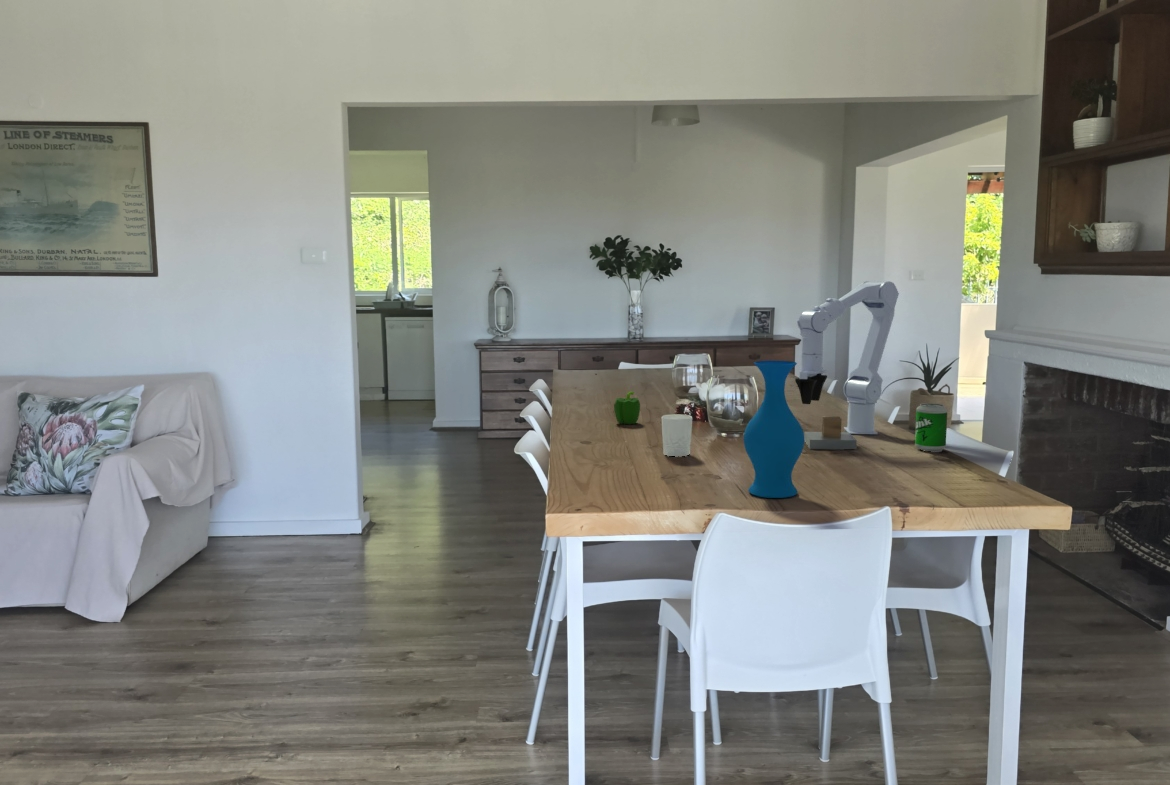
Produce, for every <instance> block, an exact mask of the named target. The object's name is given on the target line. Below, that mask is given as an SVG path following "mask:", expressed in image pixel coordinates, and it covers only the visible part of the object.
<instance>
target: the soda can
mask: <svg viewBox="0 0 1170 785" xmlns="http://www.w3.org/2000/svg"><path fill="white" fill-rule="evenodd" d="M915 409H916V411H915V413H916V414H915V436H914V438H915V439H914V440H915V441H914V446H915V447H916V448H917V449H921V450H925V451H931V452H930V453H941V452H943V450H944V449H945V448H947V424H948V409H947V408H946V407H945V405H944V404H943V403H941V404H940V403H933V402H932V403H931V402H930V403H929V402H927V403H926V402H925V403H923V402H922V403H920V404H919V405H918V406H917V407H916V408H915Z"/></svg>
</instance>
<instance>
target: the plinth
mask: <svg viewBox="0 0 1170 785" xmlns="http://www.w3.org/2000/svg"><path fill="white" fill-rule="evenodd" d="M803 432H804V439H805V440H804V443H805V442H806V443H805V444H806V446H807V445H808V446H807V447H808V449H809V450H844V449H856V450H857V442H858V441H857V439H856V438H855V437H854V436H853V434H850V433H849V432H847V431H845V432H843V431H841V438H835V437H823V435H822V431H803Z"/></svg>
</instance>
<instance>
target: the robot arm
mask: <svg viewBox="0 0 1170 785" xmlns="http://www.w3.org/2000/svg"><path fill="white" fill-rule="evenodd" d="M899 295H900V293H899V291H898V288H897V286H896V284H895V283H894V282H892V281H867V280H866V281H863V282H862V283H859V284H857V285H856V287H855V288H854V289H852V290H850V291H849V292H848V293H846V294H844V295H843V296H842V297H841V296H840V298H839V299H838V298H835V297H834V298H832V297H828V298H826V299H825V302H824V303H822V304H820V305H815V306H814V307H813V309H812V310H804V311H803V312H802V313H801V314H800V316H799V318H798V320H797V326H798V328H799V330H800V333H799V334H800V337H801V355H800V358H801V359H800V360H801V361H800V362H801V363H800V365H801V366H800V367H801V368H800V369H799V377H796V378H795V379H794V381H795V383H796V385H797V388H798V390H799V395H800V398H801V402H802V404H803V405H811V404H812V401H817V402H818V401H819V402H820V399H821V394H822V392H823V391H822V390H823V387H824V384H825V382H826V380H827V378H828V375H827V374H826V373H827V369H824V367H823V353H824V352H823V350H824V348H823V347H824V332H825V331H826V330H827V329H828V326H829V324H831V323H833V322H835V321H837V320H838V319H839V318H841V317H843V316H844V314H845V311H846V310H848V309H850V308H851V307H853V306H855V305H857V304H859V303H862V304H863V305H864V306H865V308H866V309H867V310H868V311H869V312H870V313H871V315H872V320H871V323H870V327H869V330H868V333H867V337H866V340H865V343H864V347H863V348H862V349H863V350H862V354H861V355H860V356H861V357H860V361H859V364H858V366H857V368H855V369H854V370H852V371H851V372H850V373H849V376H848V378H847V380H845V383H844V384H843V389H842V390H843V394H844V396H845V398H846V401H847V402H848V407H847V426H843V430H844V431H845V432H849V433H850V434H851V435H878V434H879V433H878V432H877V431H876V430H875V409H876V408H875V407H876V404H878V401H879V399H880V398H881V396H882V384H883V381H884V380H883V378H882V376H881V375H880V374H879V373H878V371H879V367H880V363H881V361H882V360H881V359H882V357H883V354H884V350H885V347H886V344H887V341H888V340H887V339H888V337H889V334H890V331H891V327H892V325H893V319H894V317H895V311H896V310H895V307H896V305H897V300H898V298H899ZM824 373H825V374H824Z"/></svg>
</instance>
